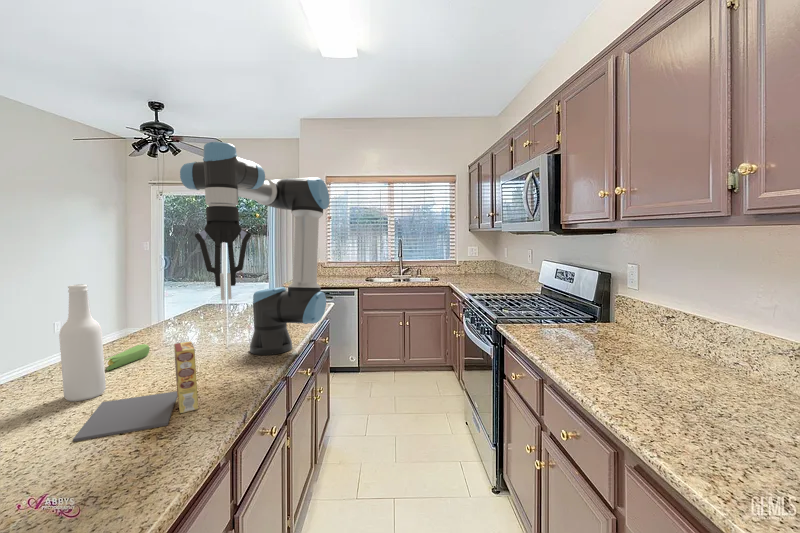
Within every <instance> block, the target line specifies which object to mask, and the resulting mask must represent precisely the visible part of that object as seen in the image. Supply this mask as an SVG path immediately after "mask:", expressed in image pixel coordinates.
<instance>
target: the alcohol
mask: <svg viewBox="0 0 800 533" xmlns="http://www.w3.org/2000/svg"><path fill="white" fill-rule="evenodd" d="M67 289H68V291H67V293H68V314H67V315H68V317H67V320H66V322H65V323H63V325H62V326H61V328H60V331H59V334H58V335H59V336H58V337H59V338H58V339H59V349H60V350H59V351H60V365H61V374H62V375H61V377H62V387H63V388H62V391H63V398H64V399H66V401H67V402H82V401H85V400H91V399H94V398H97V397H99V396H101V395H103V394H104V392H105V391H106V389H107V388H106V384H107V383H106V373H105V371H106V369H105V357H104V344H103V343H104V342H103V329H102V327H101V323H99V322H98V321H97V320H95V318H94V317H93V316H92V312H91V306H90V300H89V294H88V291H89V289H88V285H87V284H85V283H84V284H82V283H81V284H69V285H68V286H67Z"/></svg>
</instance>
